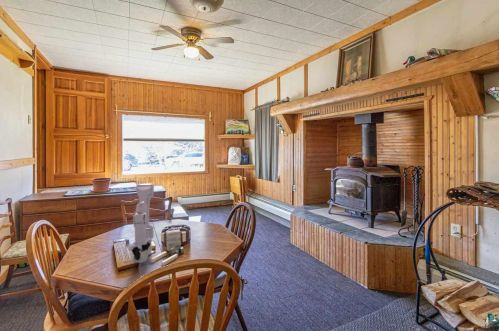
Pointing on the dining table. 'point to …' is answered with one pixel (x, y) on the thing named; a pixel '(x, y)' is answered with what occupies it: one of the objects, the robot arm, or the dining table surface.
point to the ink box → (173, 238)
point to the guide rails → (163, 256)
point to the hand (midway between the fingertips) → (140, 257)
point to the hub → (142, 255)
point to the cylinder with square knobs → (176, 250)
